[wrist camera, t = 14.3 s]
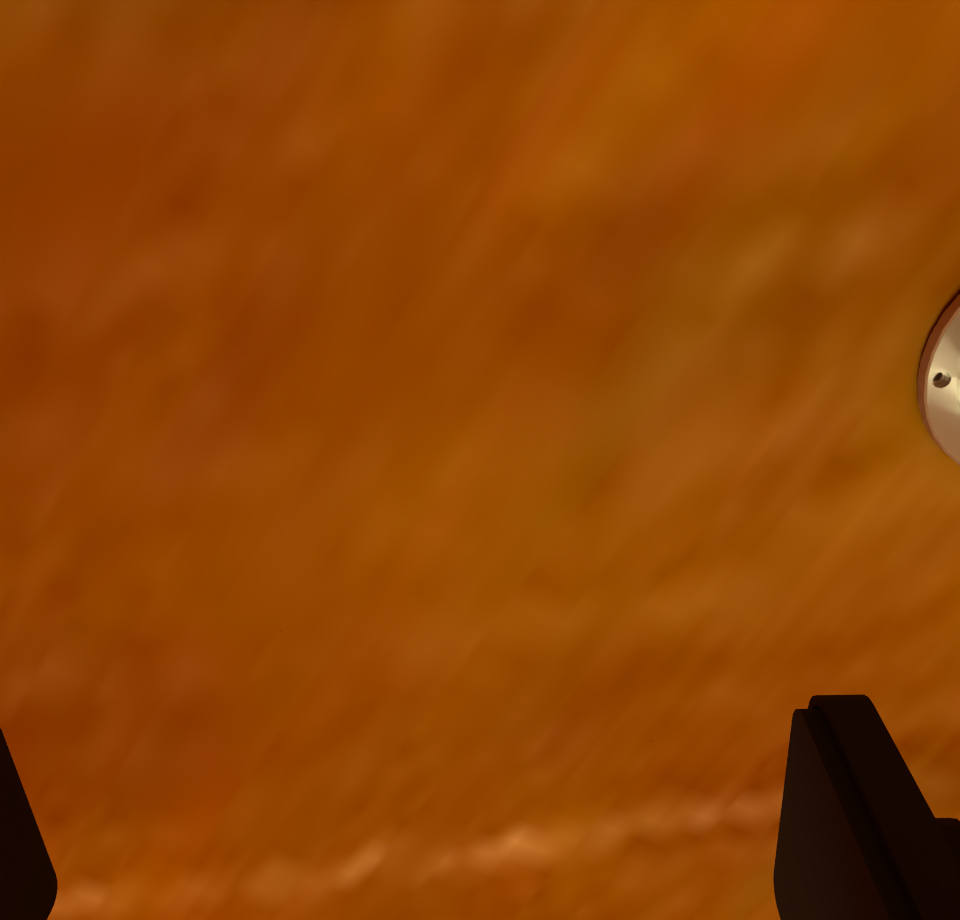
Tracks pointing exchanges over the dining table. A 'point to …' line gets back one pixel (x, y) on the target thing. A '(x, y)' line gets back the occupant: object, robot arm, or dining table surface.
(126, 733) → the dining table surface
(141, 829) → the dining table surface
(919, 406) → the robot arm
